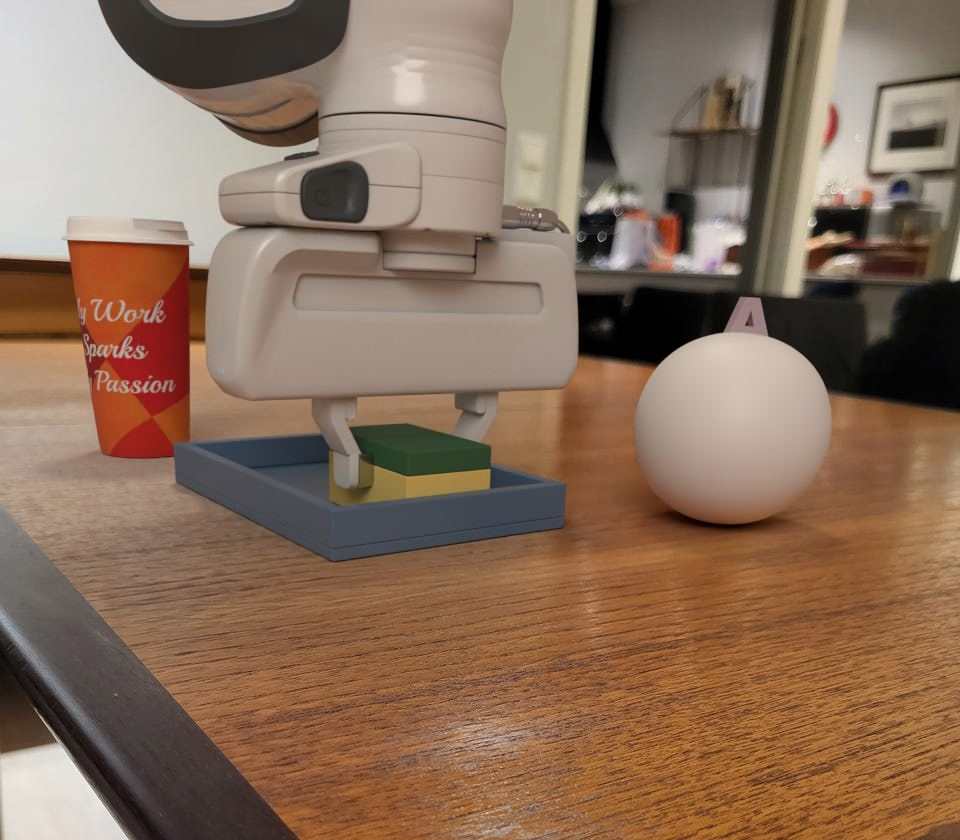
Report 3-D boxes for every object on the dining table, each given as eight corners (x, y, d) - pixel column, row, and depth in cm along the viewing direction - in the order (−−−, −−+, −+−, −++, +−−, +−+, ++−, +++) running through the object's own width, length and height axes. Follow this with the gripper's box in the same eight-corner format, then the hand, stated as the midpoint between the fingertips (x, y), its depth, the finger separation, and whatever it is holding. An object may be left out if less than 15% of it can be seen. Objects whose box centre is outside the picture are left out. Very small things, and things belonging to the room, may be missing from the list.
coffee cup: (56, 454, 68) (30, 213, 62) (130, 437, 75) (112, 220, 70) (164, 465, 65) (146, 217, 60) (229, 446, 73) (218, 224, 68)
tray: (175, 481, 61) (172, 442, 60) (374, 464, 69) (374, 428, 68) (332, 562, 46) (332, 511, 45) (563, 527, 54) (567, 483, 53)
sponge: (329, 501, 55) (328, 427, 53) (406, 492, 58) (407, 422, 56) (406, 533, 49) (408, 452, 47) (488, 523, 52) (492, 445, 50)
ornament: (725, 495, 63) (750, 295, 59) (853, 534, 55) (893, 304, 51) (592, 508, 58) (609, 291, 54) (710, 552, 50) (742, 300, 46)
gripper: (538, 212, 56) (523, 458, 61) (183, 179, 45) (199, 486, 49) (615, 210, 51) (593, 477, 56) (240, 173, 40) (252, 512, 45)
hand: (406, 481), depth 53 cm, fingers closed on sponge, 5 cm apart
